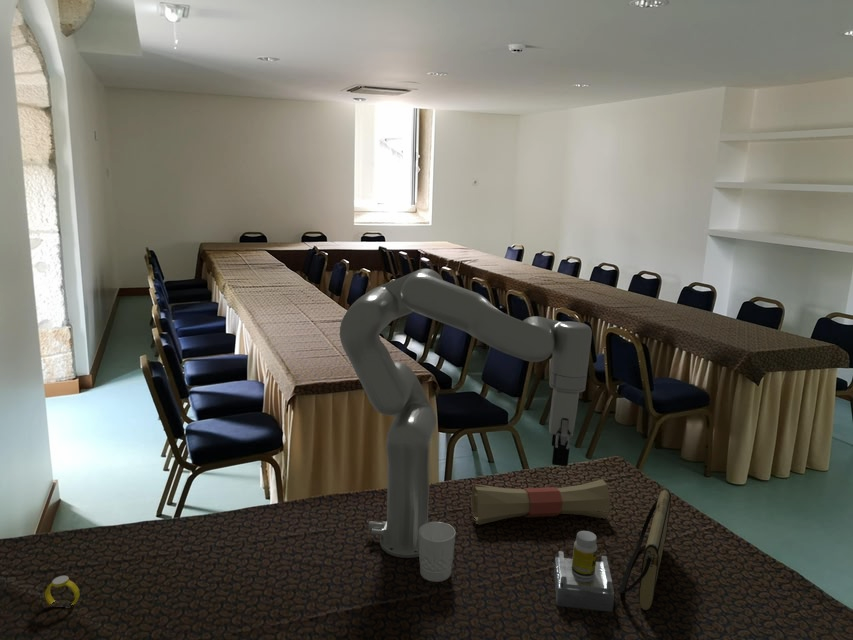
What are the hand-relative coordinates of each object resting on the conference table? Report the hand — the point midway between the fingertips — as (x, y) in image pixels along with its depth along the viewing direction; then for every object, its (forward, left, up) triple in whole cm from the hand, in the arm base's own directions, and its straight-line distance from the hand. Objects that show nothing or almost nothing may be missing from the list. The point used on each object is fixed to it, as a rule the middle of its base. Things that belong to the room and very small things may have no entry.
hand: (559, 455), depth 141 cm
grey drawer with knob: (+6, -9, -26) cm, 28 cm away
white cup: (-25, -9, -26) cm, 37 cm away
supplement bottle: (+6, -10, -21) cm, 24 cm away
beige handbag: (+20, -2, -26) cm, 33 cm away
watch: (-95, -33, -26) cm, 104 cm away
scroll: (-2, +19, -26) cm, 32 cm away
